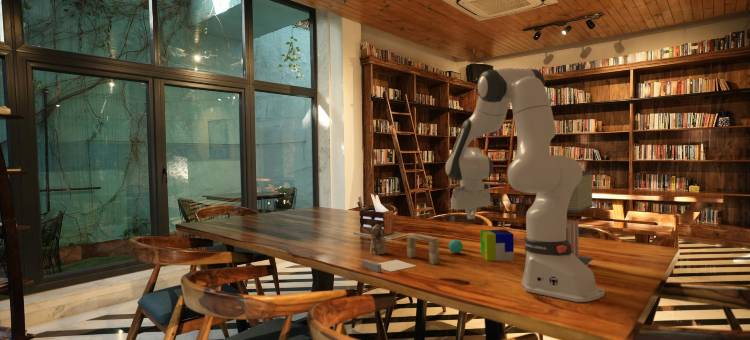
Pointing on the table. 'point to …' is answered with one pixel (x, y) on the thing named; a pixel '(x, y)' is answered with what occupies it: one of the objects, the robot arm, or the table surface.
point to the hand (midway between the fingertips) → (471, 218)
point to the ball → (455, 246)
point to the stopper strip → (371, 265)
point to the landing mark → (395, 265)
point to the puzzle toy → (497, 245)
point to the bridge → (432, 246)
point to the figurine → (378, 240)
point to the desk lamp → (578, 203)
